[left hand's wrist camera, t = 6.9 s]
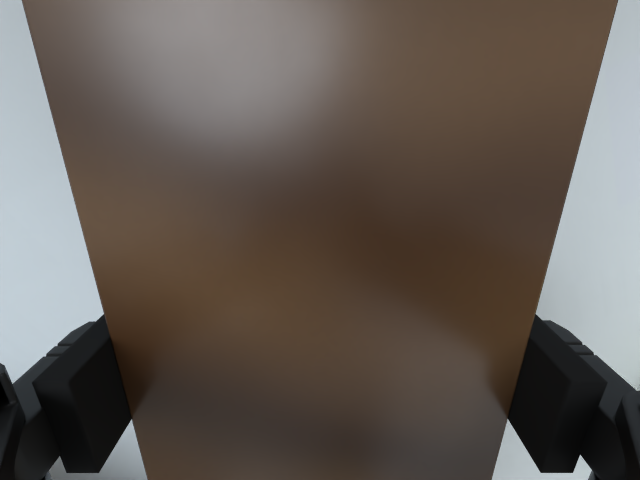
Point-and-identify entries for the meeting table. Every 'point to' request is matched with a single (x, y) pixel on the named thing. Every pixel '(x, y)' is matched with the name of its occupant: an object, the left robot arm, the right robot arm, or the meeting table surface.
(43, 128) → the meeting table surface
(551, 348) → the left robot arm
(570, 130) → the wooden crate block
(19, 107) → the meeting table surface
